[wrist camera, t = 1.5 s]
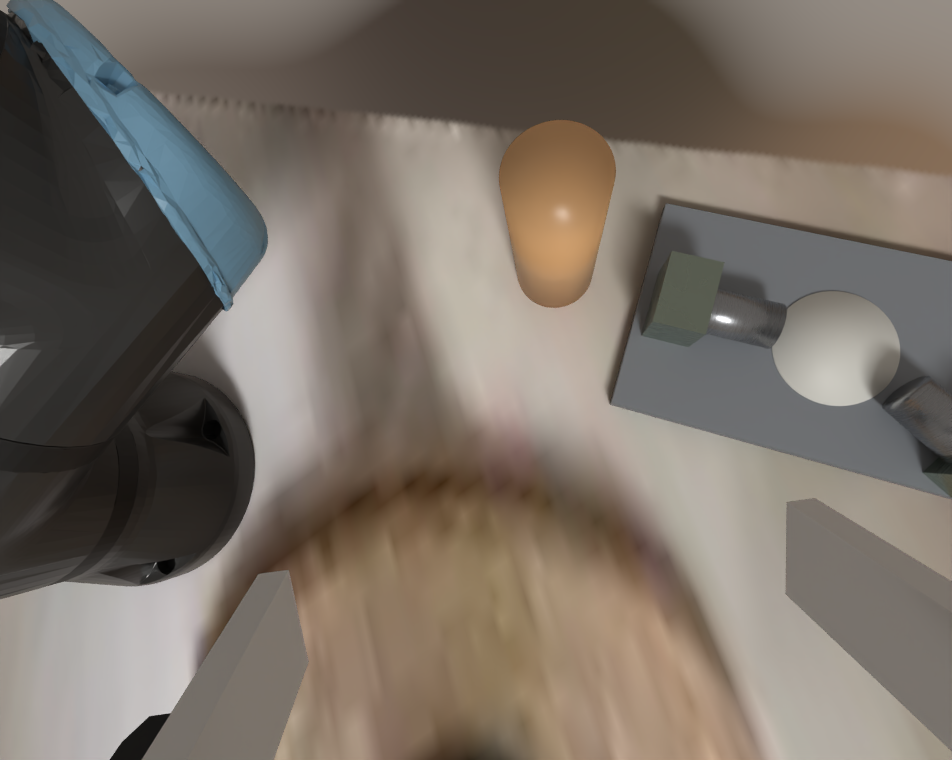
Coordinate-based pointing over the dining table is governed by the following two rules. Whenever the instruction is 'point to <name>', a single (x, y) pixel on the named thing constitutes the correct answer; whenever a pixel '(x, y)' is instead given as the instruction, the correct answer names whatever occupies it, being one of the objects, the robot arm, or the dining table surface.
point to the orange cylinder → (556, 207)
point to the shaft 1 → (707, 307)
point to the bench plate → (800, 346)
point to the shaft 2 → (927, 423)
